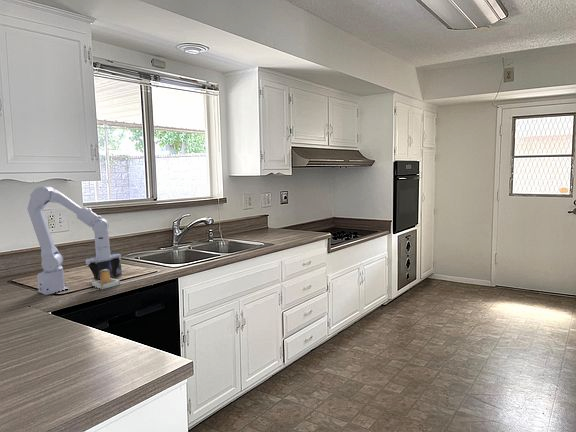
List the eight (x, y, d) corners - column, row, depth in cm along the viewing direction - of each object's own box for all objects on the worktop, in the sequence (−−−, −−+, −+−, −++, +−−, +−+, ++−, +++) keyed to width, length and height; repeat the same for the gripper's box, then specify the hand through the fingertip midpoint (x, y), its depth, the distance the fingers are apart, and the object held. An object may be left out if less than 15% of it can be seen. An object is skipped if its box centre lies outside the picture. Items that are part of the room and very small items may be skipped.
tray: (101, 289, 183) (101, 285, 183) (91, 286, 189) (91, 282, 188) (120, 284, 190) (119, 280, 190) (110, 281, 195) (109, 277, 195)
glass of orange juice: (101, 286, 187) (100, 271, 186) (100, 284, 190) (98, 269, 189) (111, 284, 189) (110, 270, 188) (110, 282, 192) (108, 268, 191)
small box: (109, 280, 198) (107, 257, 196) (96, 280, 199) (94, 257, 198) (122, 274, 208) (121, 252, 207) (110, 274, 209) (108, 252, 208)
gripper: (115, 243, 195) (117, 272, 197) (81, 248, 185) (84, 279, 187) (122, 244, 190) (124, 275, 192) (87, 250, 180) (90, 282, 182)
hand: (105, 277), depth 189 cm, fingers open, 7 cm apart
